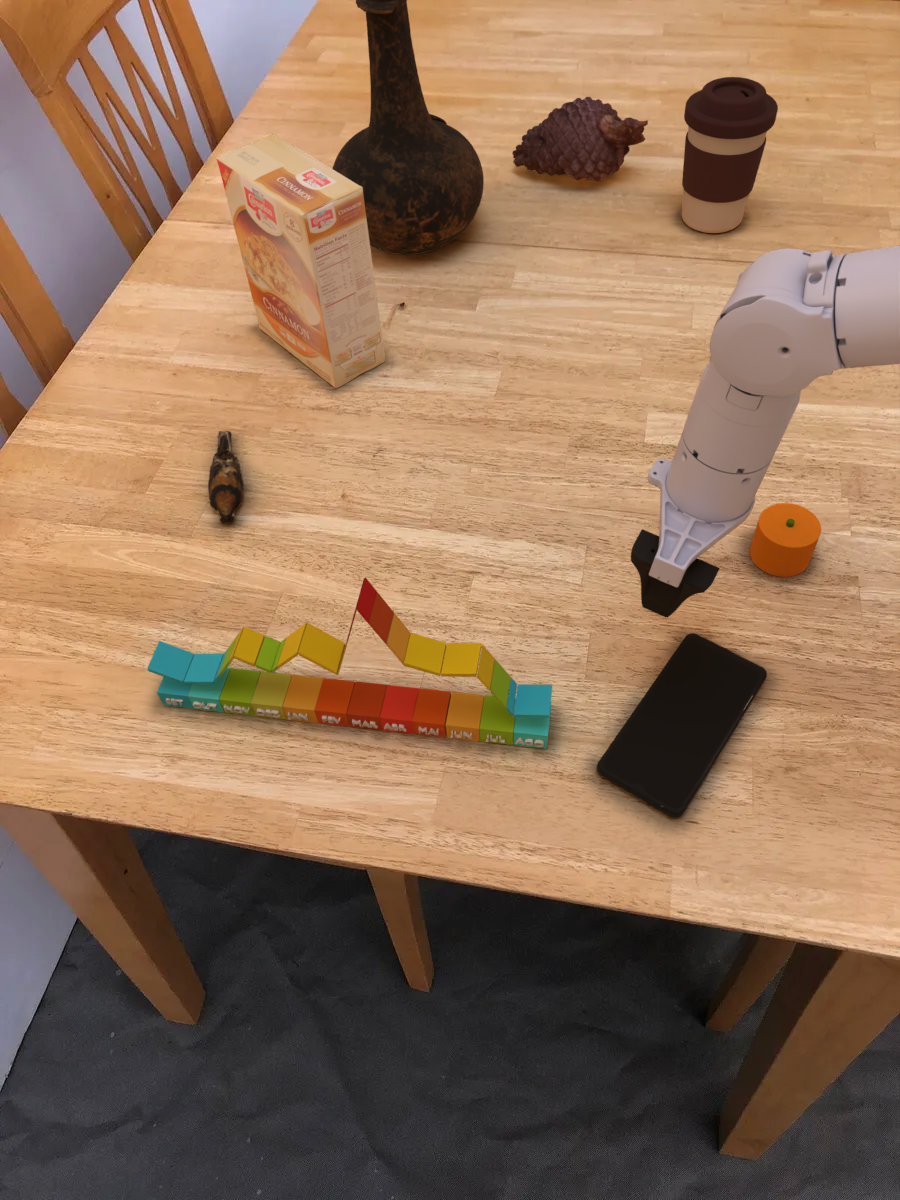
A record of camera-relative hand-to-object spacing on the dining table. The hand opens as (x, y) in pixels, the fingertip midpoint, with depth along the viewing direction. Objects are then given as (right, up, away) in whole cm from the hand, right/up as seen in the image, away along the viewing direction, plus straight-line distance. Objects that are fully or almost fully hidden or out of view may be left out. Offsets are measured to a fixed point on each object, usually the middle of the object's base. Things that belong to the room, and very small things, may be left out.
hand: (675, 572), depth 68 cm
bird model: (-38, +9, +20) cm, 44 cm away
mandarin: (+12, +2, +11) cm, 16 cm away
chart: (-24, -11, +4) cm, 27 cm away
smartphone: (+1, -11, +1) cm, 12 cm away
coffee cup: (+15, +44, +44) cm, 64 cm away
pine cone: (0, +54, +53) cm, 75 cm away
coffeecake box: (-31, +26, +33) cm, 52 cm away
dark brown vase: (-21, +43, +46) cm, 66 cm away
